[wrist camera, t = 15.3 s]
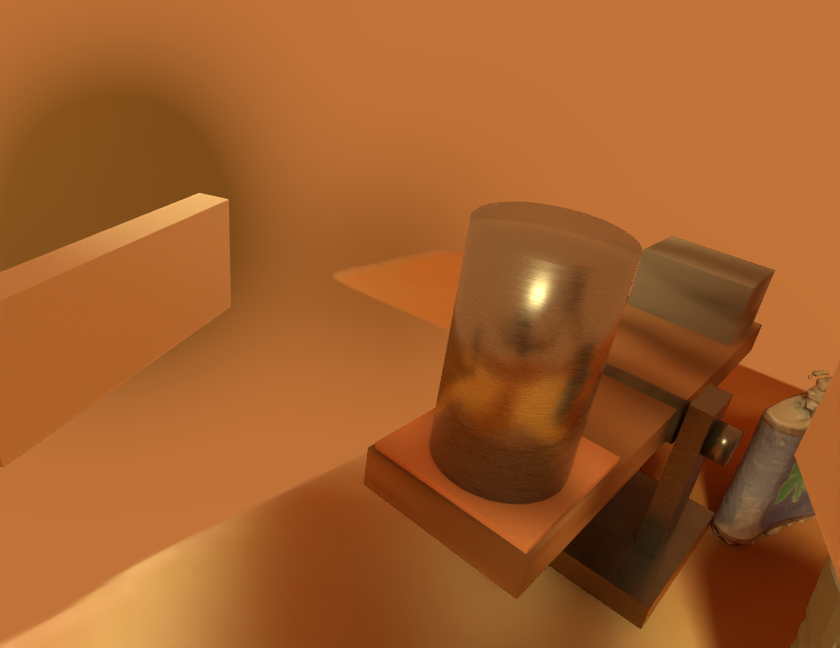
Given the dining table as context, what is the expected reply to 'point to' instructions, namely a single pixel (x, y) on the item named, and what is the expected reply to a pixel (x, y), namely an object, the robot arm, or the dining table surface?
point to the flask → (771, 472)
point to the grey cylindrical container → (822, 613)
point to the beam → (593, 415)
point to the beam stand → (652, 519)
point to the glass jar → (528, 347)
